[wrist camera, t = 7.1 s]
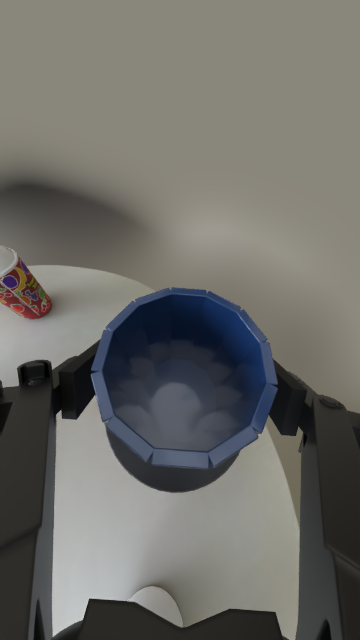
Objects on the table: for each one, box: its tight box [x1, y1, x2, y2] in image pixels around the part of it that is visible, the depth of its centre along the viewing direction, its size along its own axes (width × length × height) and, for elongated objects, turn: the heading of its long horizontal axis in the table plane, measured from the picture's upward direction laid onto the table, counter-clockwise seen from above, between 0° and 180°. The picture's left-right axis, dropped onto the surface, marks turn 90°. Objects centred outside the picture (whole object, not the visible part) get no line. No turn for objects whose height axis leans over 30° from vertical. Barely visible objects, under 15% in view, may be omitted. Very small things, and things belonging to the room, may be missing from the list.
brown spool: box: [105, 423, 241, 493], centre depth 25 cm, size 14×14×18 cm
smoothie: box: [0, 244, 51, 319], centre depth 35 cm, size 8×8×20 cm
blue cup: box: [91, 288, 278, 469], centre depth 13 cm, size 8×8×11 cm
